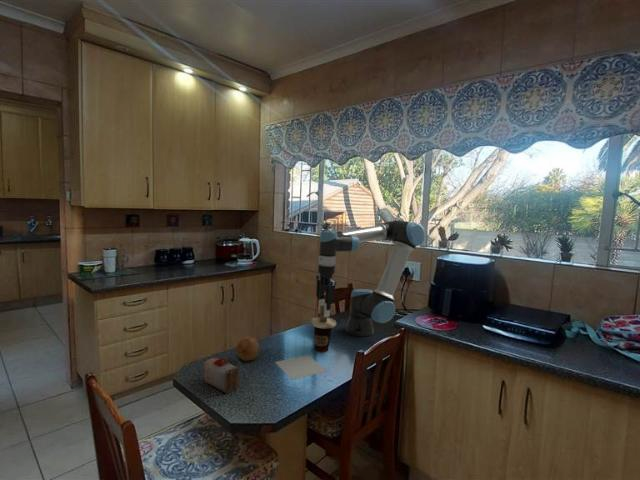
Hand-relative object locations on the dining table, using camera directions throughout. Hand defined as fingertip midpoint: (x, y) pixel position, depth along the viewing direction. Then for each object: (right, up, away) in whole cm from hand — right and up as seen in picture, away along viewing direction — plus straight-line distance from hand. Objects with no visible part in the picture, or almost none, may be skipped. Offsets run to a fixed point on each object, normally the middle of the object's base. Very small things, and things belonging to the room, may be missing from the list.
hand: (323, 314), depth 160 cm
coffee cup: (-1, -17, +2) cm, 17 cm away
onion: (-33, -17, -12) cm, 39 cm away
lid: (0, -4, 0) cm, 4 cm away
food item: (-38, -19, -33) cm, 53 cm away
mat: (-10, -18, -16) cm, 27 cm away
